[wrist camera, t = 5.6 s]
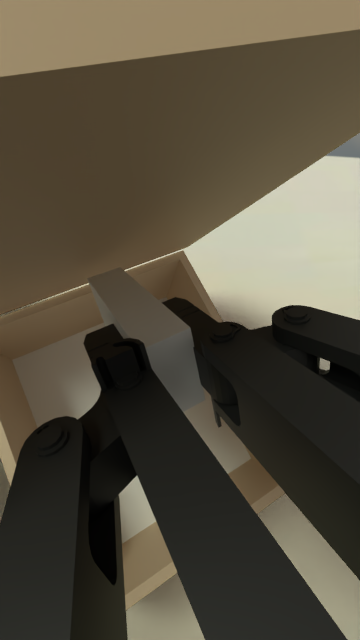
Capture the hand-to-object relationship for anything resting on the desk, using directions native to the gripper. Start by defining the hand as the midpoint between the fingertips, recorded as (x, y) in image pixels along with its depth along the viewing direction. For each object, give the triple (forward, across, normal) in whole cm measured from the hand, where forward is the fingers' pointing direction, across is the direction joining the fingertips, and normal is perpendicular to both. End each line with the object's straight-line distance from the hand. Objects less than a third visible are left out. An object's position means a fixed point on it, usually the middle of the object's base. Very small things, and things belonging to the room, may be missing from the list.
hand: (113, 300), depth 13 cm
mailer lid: (-1, 0, +2) cm, 3 cm away
